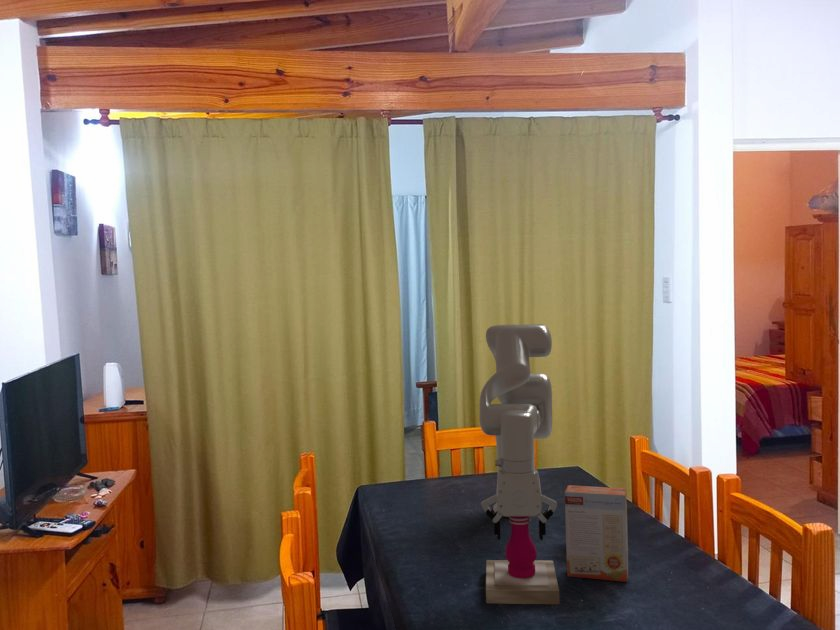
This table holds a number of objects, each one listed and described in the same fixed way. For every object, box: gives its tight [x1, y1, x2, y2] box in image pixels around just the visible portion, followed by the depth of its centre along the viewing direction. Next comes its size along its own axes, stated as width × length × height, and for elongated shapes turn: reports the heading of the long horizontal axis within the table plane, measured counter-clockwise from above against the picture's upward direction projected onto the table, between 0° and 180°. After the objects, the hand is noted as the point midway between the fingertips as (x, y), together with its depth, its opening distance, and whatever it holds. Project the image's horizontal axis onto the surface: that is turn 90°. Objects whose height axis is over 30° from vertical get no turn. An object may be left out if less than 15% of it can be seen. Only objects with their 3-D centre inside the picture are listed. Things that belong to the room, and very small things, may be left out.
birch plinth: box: [485, 559, 560, 605], centre depth 165 cm, size 16×16×3 cm
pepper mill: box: [504, 517, 538, 578], centre depth 165 cm, size 7×7×20 cm
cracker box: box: [564, 484, 629, 583], centre depth 170 cm, size 14×6×21 cm, turn 71°
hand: (519, 537), depth 165 cm, fingers open, 9 cm apart
